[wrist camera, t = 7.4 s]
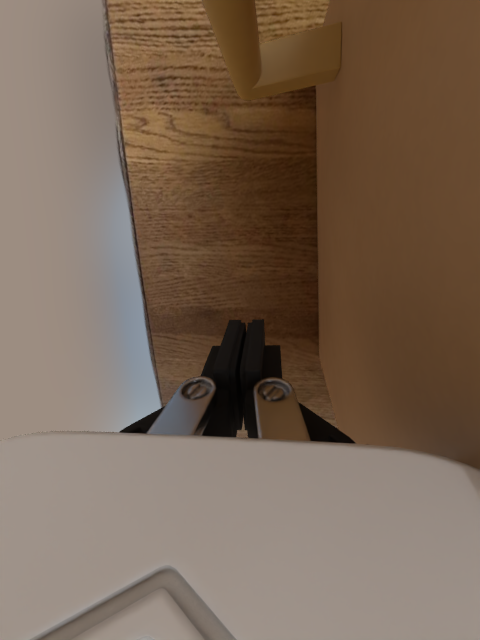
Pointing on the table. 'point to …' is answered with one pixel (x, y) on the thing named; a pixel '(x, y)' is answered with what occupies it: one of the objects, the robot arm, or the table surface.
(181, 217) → the table surface
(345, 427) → the cupboard door
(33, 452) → the robot arm
